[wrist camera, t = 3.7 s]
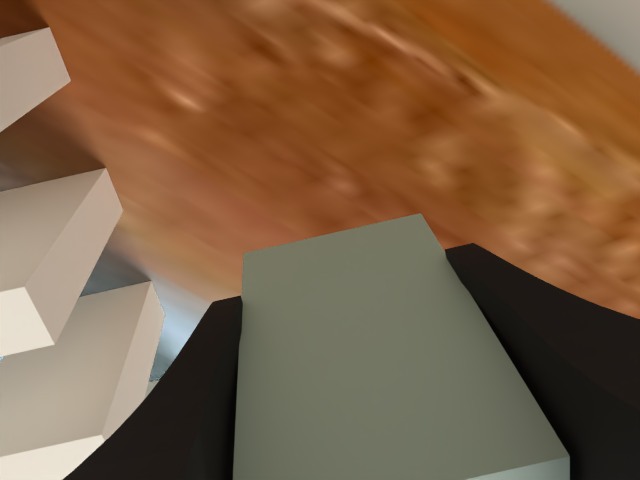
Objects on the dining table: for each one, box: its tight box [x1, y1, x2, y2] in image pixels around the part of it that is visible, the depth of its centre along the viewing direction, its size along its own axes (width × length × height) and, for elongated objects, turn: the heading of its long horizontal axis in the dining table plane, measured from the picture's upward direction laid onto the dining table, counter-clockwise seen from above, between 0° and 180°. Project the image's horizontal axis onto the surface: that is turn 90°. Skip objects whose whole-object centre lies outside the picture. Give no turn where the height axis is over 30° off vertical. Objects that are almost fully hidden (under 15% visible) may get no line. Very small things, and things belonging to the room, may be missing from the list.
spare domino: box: [233, 213, 570, 480], centre depth 11 cm, size 2×4×8 cm, turn 101°
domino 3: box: [0, 168, 123, 357], centre depth 16 cm, size 2×4×8 cm, turn 101°
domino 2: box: [0, 281, 165, 480], centre depth 18 cm, size 2×4×8 cm, turn 101°
